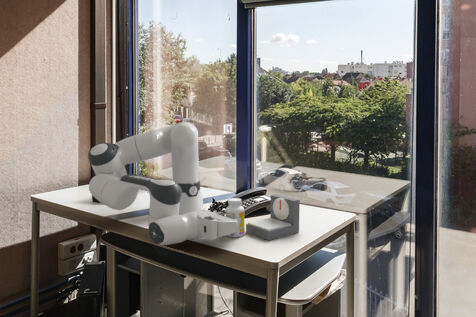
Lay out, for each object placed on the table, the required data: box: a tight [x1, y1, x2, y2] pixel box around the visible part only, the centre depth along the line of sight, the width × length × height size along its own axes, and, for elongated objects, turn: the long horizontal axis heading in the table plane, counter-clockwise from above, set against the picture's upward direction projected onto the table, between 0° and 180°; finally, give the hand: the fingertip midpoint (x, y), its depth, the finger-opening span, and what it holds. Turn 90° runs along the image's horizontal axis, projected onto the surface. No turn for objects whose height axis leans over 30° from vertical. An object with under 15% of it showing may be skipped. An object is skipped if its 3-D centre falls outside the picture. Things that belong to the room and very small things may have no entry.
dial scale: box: [245, 194, 301, 241], centre depth 144 cm, size 12×15×12 cm
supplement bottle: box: [225, 197, 246, 238], centre depth 141 cm, size 7×7×13 cm
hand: (231, 217), depth 140 cm, fingers open, 8 cm apart
